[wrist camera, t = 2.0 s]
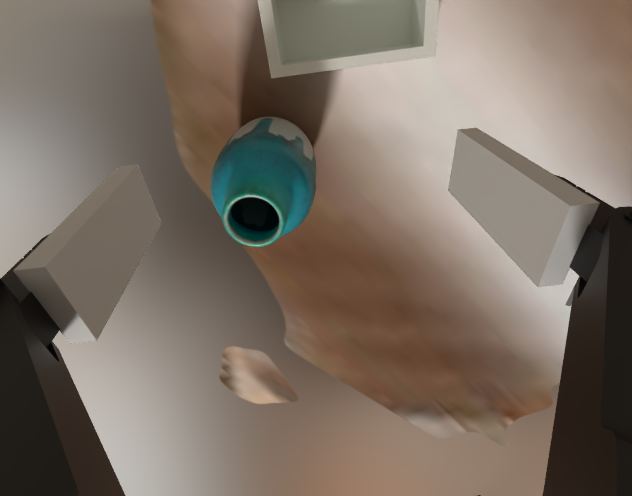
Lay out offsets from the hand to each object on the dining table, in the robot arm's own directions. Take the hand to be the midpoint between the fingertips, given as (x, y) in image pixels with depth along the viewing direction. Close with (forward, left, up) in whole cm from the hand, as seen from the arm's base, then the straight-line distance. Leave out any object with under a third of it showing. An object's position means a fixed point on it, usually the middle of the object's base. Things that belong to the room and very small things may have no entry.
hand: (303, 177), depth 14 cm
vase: (-8, +6, -31) cm, 32 cm away
